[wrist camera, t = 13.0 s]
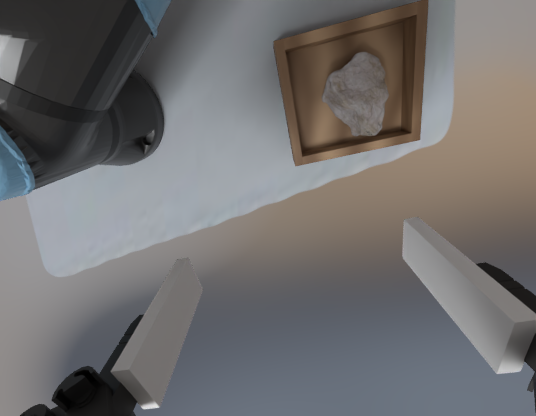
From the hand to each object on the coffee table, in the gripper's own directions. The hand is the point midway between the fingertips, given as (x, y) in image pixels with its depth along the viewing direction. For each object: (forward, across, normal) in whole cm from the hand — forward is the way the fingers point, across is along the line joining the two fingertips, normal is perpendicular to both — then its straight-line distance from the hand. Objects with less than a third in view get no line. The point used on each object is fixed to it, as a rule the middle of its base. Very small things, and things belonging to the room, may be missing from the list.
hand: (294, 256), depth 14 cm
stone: (+26, +12, +6) cm, 29 cm away
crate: (+27, +11, +7) cm, 30 cm away
